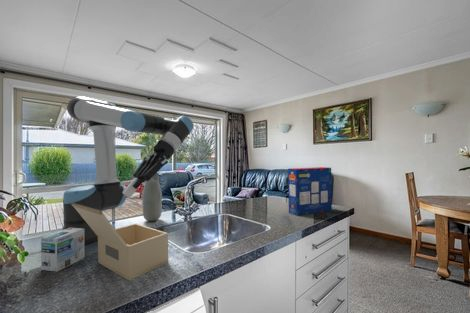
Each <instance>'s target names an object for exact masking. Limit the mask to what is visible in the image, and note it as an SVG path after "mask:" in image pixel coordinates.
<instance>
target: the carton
mask: <svg viewBox="0 0 470 313" xmlns="http://www.w3.org/2000/svg"><path fill="white" fill-rule="evenodd" d="M114 229H115V230H116V231H117V233H118V234H119V235H120V237H121V238H122V239H123V241H124V242H125V243H126V245H127V246H128V247H127V248H125V247H123V246H120V245H118V244H116V243H113V242H111V241H109V240H107V239H104V238H102V237H100V236H98V240H97V262H98V264H100V265H102V266H103V267H105V268H106V269H109V270H111V271H112V272H114V273H115V274H117V275H118V276H121V278H124V279H126V280H127V281H132V280H134V279H135V278H138V277H140V276H142V275H144V274H147V273H148V272H151V271H152V270H154V269H156V268H159V267H161V266H163V265H165V264H167V263H169V233H168V232H166V231H162V230H159V229H155V228H152V227H149V226H146V225H142V224H139V223H132V224H129V225H126V226H125V225H124V226H121V227H117V228H114Z"/></svg>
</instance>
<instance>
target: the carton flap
mask: <svg viewBox="0 0 470 313" xmlns="http://www.w3.org/2000/svg"><path fill="white" fill-rule="evenodd" d="M71 205H72V206H73V207H74V208H75V209H76V210H77V212H78V213H79V214H80V215H81V216H82V218H83V219H84V220H85V221H86V223H87V224H88V225H89V226H90V228H91V229H92V230H93V231H94V232H95V234H96V235H97V236H100V237H102V238H104V239H107V240H109V241H111V242H113V243H116V244H118V245H120V246H123V247H125V248H127V247H128V246H127V245H126V243H125V242H124V241H123V239H122V238H121V237H120V235H119V234H118V233H117V231H116V230H115V229H116V228H115V227H114V226H113V224H112V222H111V221H109V219H108V218H107V216H106V215H105V214H104V212H103V211H100V210H97V209H93V208H90V207H86V206H83V205H79V204H76V203H72V204H71Z"/></svg>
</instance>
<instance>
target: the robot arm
mask: <svg viewBox="0 0 470 313" xmlns="http://www.w3.org/2000/svg"><path fill="white" fill-rule="evenodd" d="M66 111H67V113H68V115H69V116H70V117H71V118H72V119H73V120H75V121H79V122H83V123H88V127H89V129H90V130H91V131H92V132H93V143H94V144H93V145H94V156H95V157H94V158H95V171H96V180H95V181H94V183H93V185H92V184H89V185H80V186H75V187H72V188H69V189H67V190H65V191H64V193H63V196H62V197H63V198H62V204H63V205H62V206H63V208H62V209H63V212H62V215H63V226H62V228H61V231H62V230H65V229H67V228H81V229H84V242H85V245H89V244H92V243H94V242H96V241H98V236H97V235H96V234H95V232H94V231H93V230H92V229H91V228H90V226H89V225H88V224H87V223H86V221H85V220H84V219H83V218H82V216H81V215H80V214H79V213H78V212H77V210H76V209H75V208H74V207H73V206H72V205H71V204H72V203H76V204H79V205H83V206H86V207H90V208H93V209H97V210H100V211H102V212H104V211H109V210H114V209H117V208H119V207H121V206H123V205H124V203H125V202H126V200H127V198H128V199H131V197H132V196H133V195H134V194H135V192H136V191H137V190H138V189H139V188H140V186H141V185H142V184H143V183H145V181H149V180H150V179H151V178H152V177H153V176H154V175H155V174H156V173H158V172H159V171H160V170H161V169H162V168H163V167H164V166H166V165H167V164H168V163H169V161H168V160H169V159H171V158H172V157H173V155H174V154H175V152H176V151H177V150H179V148H180V146H181V145H182V144H183V142H185V140H186V139H187V138H188V136H189V135H190V134H191V132H192V131H193V129H194V126H195V125H194V121H193V120H191V118H189V117H188V116H187V115H181V116H179V117H178V118H177V119H172V118H166V117H162V116H158V115H152V114H148V113H144V112H140V111H137V110H130V109H125V108H120V107H118V106H117V105H115V104H114V103H111V102H109V101H103V100H99V99H95V98H90V97H86V96H76V97H73V98H71V99H70V100H68V103H67V104H66ZM117 128H121V129H124V130H125V131H127V132H132V133H144V134H145V133H146V134H150V135H151V134H152V135H161V138H160V139H159V140H158V141H157V142H156V143H155V144H154V145H153V147H152V149H153V152H152V153H151V154H150V155H149V157H146V156H144V157H143V159H142V161H141V163H140V164H139V166H138V167H137V169H136V170H135V172H134V173H133V175H132V177H133V180H131V182H130V183H129V184H128V185H127V186H126V187H125V185H123V184H122V183H121V180H120V179H118V176H117V167H116V166H117V165H116V163H117V162H116V153H115V152H116V151H115V140H114V138H115V137H114V132H115V130H116V129H117Z"/></svg>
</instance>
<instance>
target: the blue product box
mask: <svg viewBox="0 0 470 313" xmlns="http://www.w3.org/2000/svg"><path fill="white" fill-rule="evenodd" d="M287 178H288V180H287V187H288V192H287V193H288V213H289V214H291V215H294V216H296V217H297V216H298V217H299V216H307V215H312V214H318V213H326V212H332V211H333V210H332V208H333V206H332V205H333V204H332V203H333V202H332V167H327V166H326V167H325V166H324V167H323V166H322V167H321V166H320V167H319V166H317V167H315V166H314V167H295V168H294V167H293V168H288V169H287Z"/></svg>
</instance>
